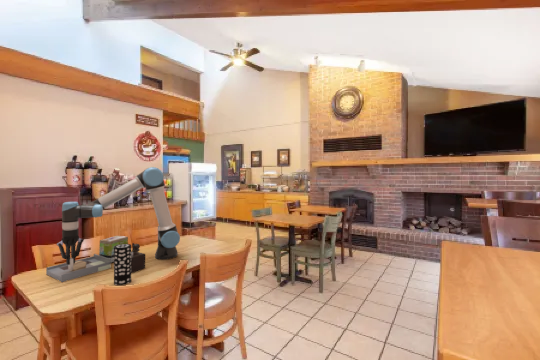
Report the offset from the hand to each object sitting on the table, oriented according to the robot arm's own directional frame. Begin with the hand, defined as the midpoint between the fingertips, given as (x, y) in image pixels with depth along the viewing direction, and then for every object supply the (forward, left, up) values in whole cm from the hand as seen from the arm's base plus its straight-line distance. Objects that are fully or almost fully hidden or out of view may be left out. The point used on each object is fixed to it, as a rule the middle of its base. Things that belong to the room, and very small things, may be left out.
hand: (70, 269), depth 154 cm
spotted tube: (-33, -11, -4) cm, 35 cm away
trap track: (+4, -6, -4) cm, 8 cm away
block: (0, -4, -1) cm, 4 cm away
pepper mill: (-22, -25, -4) cm, 34 cm away
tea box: (+9, -29, -4) cm, 31 cm away
